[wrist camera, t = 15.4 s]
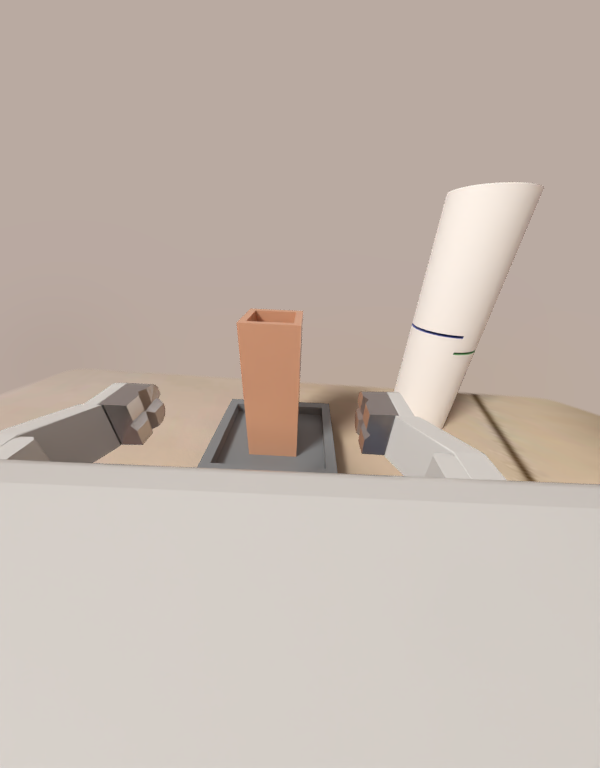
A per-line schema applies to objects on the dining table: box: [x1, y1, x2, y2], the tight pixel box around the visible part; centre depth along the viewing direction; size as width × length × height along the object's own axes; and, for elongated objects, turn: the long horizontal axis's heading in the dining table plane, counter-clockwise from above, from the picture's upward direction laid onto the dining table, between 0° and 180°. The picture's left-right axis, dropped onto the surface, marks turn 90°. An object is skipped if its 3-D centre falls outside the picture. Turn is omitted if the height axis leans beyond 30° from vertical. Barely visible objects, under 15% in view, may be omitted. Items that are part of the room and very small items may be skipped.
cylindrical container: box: [394, 182, 544, 429], centre depth 28 cm, size 7×7×25 cm
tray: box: [197, 399, 337, 473], centre depth 27 cm, size 13×12×2 cm
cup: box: [237, 309, 303, 457], centre depth 24 cm, size 5×5×14 cm
